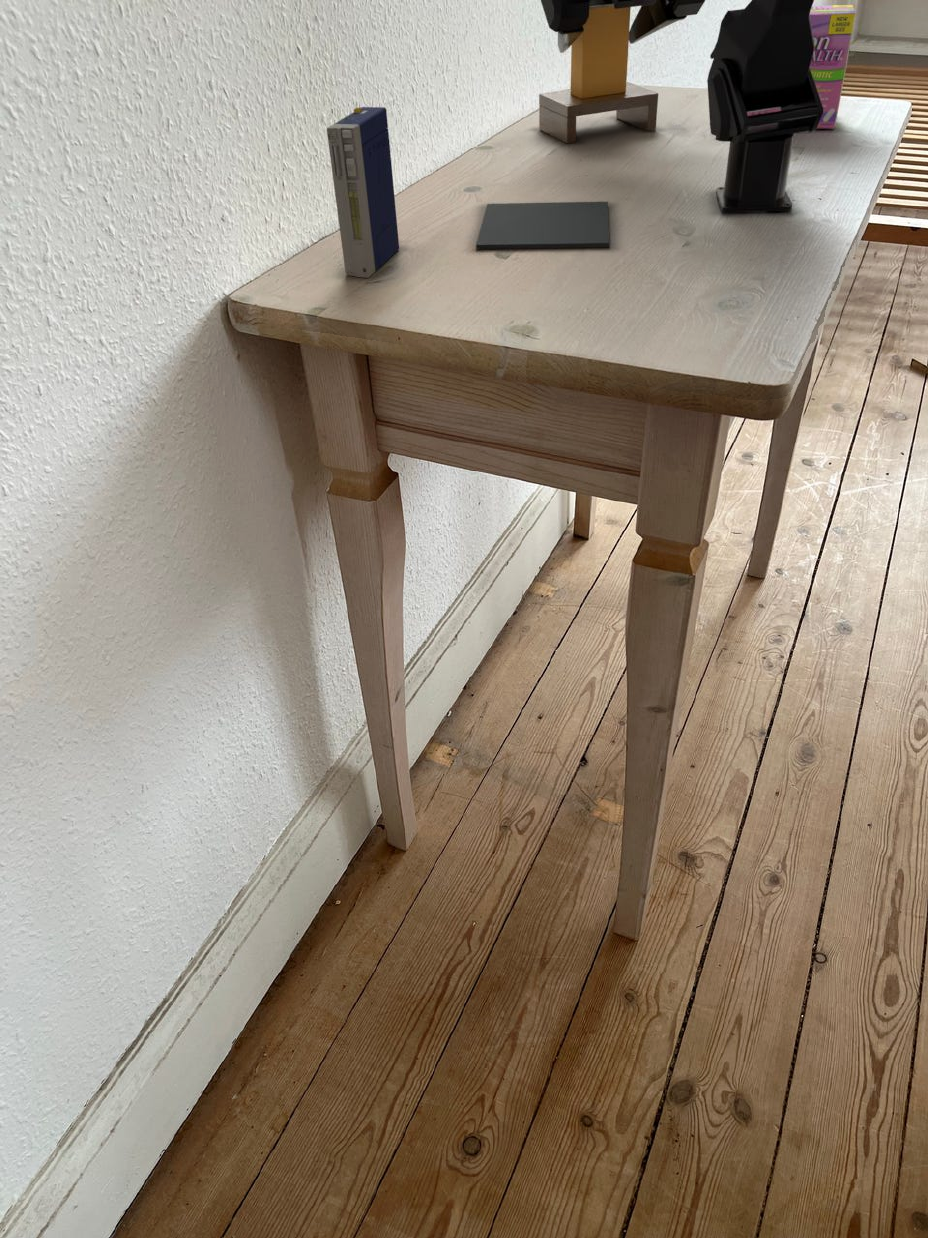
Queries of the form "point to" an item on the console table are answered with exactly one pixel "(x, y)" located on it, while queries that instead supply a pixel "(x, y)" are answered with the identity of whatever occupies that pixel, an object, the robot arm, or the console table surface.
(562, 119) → the shelf
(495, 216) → the mat
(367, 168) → the cassette player
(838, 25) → the box
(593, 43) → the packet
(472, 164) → the console table surface
